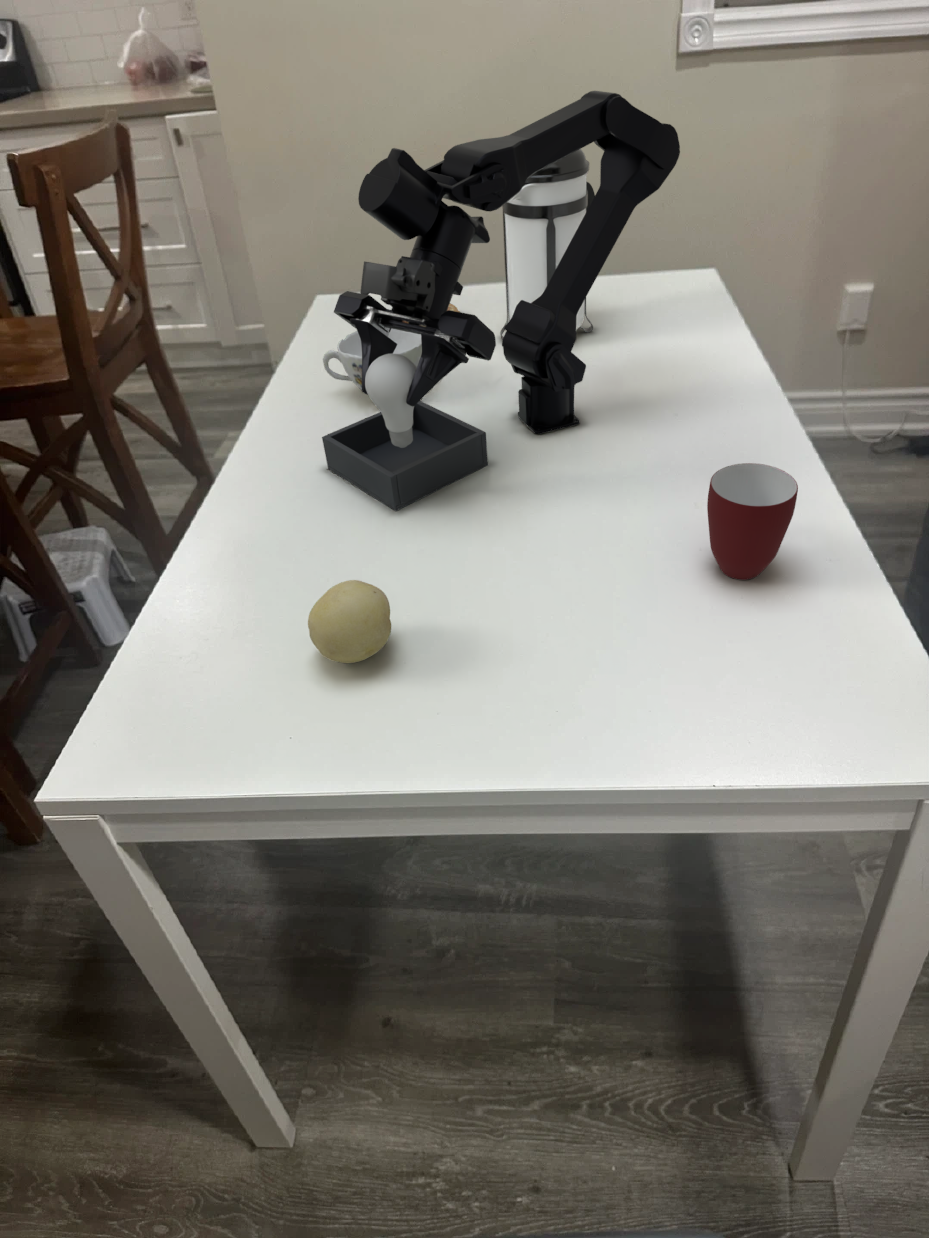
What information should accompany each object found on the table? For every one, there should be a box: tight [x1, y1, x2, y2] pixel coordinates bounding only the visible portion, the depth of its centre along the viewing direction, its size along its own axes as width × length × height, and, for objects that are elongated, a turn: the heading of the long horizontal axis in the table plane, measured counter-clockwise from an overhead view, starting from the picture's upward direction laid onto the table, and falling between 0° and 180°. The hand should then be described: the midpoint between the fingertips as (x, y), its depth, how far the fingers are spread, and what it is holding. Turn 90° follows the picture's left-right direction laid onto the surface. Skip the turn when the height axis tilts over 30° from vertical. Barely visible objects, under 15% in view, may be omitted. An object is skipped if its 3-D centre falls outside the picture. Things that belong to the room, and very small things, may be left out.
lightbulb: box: [365, 354, 417, 448], centre depth 96 cm, size 6×6×11 cm
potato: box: [307, 579, 392, 664], centre depth 80 cm, size 8×8×8 cm
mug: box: [706, 462, 799, 581], centre depth 86 cm, size 10×8×10 cm
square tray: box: [321, 400, 489, 512], centre depth 108 cm, size 15×15×5 cm
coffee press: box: [499, 148, 596, 341], centre depth 131 cm, size 17×16×30 cm
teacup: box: [322, 328, 422, 391], centre depth 125 cm, size 15×12×8 cm
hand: (386, 399), depth 95 cm, fingers closed on lightbulb, 6 cm apart
